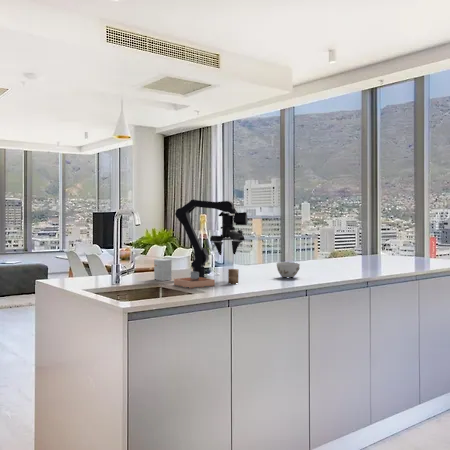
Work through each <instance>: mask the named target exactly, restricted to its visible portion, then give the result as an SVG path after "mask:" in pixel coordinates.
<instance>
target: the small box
mask: <svg viewBox="0 0 450 450" xmlns="http://www.w3.org/2000/svg"><path fill="white" fill-rule="evenodd" d="M153 261H154V262H153V264H154V265H153V268H154V270H153V271H154V272H153V273H154V274H153V275H154V278H153V279H154V280H155V279H156V281H161V282H166V281H172V273H173V272H172V259H167V258H157V259H156V258H155V259H153Z"/></svg>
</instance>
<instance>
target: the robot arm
mask: <svg viewBox="0 0 450 450" xmlns="http://www.w3.org/2000/svg"><path fill="white" fill-rule="evenodd" d="M195 208H202V209H203V208H205V209H215V210H218V211H220V213H219V214H218V217H222V218H221V221H222V223H221V224H222V225H221V226H220V230H221V234H220V235H211V236H210V238H209V240H210V242H212V243H213V244H214V246H215V248H216V250H217V253H218V254H219V256H222V250H223V249H222V247H223V246H222V245H223V243H224V242H223V241H231V248H232V255H236V253H237V250H238V247H239V245H240V244H241V243H242V242H243V241H245V236H244V234H243V230H242V229H238V230H236V227H235V226H248V221H249V220H248V212H246V211H243V212H238V211H237V209H236V208H235V204H234V202H232V201H229V200H223V201H222V200H221V201H209V200H199V199H198V200H197V199H193V198H192V199H191V200H190V201H189V202H187V203H186V204H184V205H183V206H181V207H179V208H177V209H176V210H175V218H176V219H177V220H178V222H180V224H181V225H182V227H183V228H184V231H185V233H186V235H187V238H188V239H189V242H190V244H191V246H192V248H193V249H192V250H193V254H194V258H195V259H194V260H193V261H192V262H191V264H190V265H191V267H192V271H197V272H199V277H202V278H208V277H207V276H206V275H205V272H206V271H205V265H206V263H208V262H209V260H210V257H209V256H210V254H209V253H208V249H207V248H204V247H202V244H201V243H200V240H199V238H198V236H197V233H196V231H195V229H194V227H193V225H192V222H191V221H192V220H191V215H190V213H192V212H193V211H194V209H195ZM234 224H235V226H234Z"/></svg>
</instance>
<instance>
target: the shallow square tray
mask: <svg viewBox="0 0 450 450" xmlns="http://www.w3.org/2000/svg"><path fill="white" fill-rule="evenodd" d="M173 280H174V281H173V285H174V286H177V285H178V287H181V286H183V287H182V288H186V287H189V288H188V289H195V288H194V287H200V288H205V287H204V286H210V287H215V286H214V285H216V282H215V281H216V280H215V279H212V278H208V277H207V278H202V277H199V281H193V282H190V280H191V276H190V277H181V278H180V277H178V278H174V279H173Z"/></svg>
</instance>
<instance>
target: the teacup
mask: <svg viewBox="0 0 450 450" xmlns="http://www.w3.org/2000/svg"><path fill="white" fill-rule="evenodd" d="M300 265H301V264H300V263H297V262H289V261H279V262H277V263H276V268H277V271H278V273H279V275H280V276H281V278H283V277H293V278H294V277H296V276H297V274H298V272H299V270H300Z"/></svg>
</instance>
